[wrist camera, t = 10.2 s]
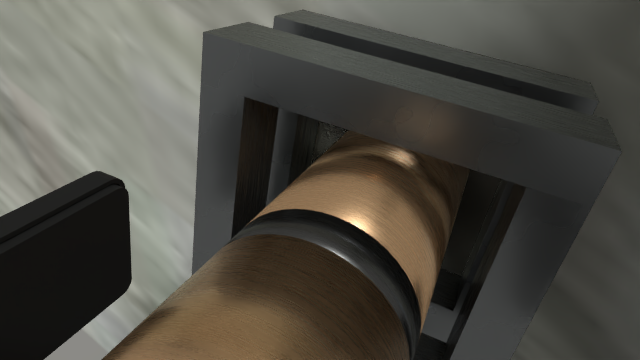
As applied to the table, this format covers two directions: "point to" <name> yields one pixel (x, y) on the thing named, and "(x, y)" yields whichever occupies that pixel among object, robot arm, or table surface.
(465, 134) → the collar bracket
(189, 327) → the copper tube
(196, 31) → the table surface
